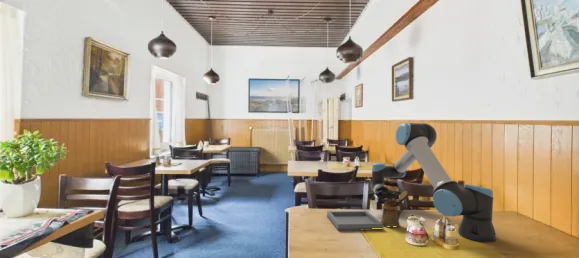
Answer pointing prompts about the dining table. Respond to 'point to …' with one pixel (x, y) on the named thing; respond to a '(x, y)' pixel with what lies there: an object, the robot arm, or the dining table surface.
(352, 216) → the grey tray
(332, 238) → the dining table surface
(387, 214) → the turkish coffee pot
